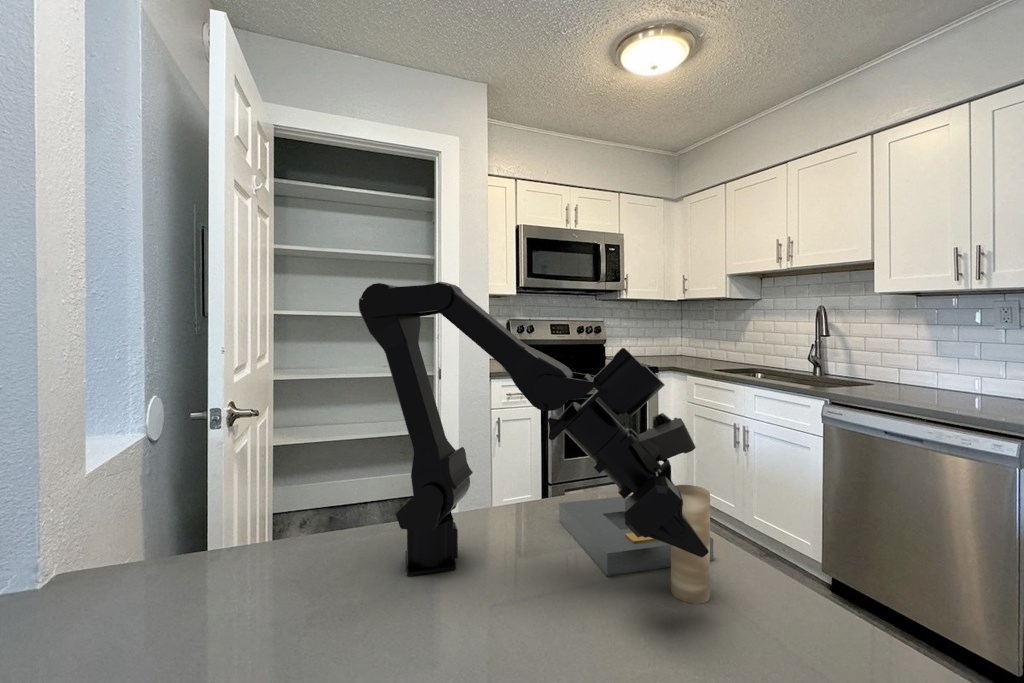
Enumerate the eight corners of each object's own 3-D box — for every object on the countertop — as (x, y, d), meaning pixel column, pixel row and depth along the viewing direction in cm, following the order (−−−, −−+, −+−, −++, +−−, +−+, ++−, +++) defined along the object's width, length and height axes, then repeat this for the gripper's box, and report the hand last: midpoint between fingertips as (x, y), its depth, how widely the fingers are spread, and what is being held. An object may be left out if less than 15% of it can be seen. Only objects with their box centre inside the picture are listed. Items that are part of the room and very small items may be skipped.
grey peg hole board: (607, 576, 59) (607, 551, 59) (559, 520, 77) (559, 501, 77) (713, 560, 63) (713, 537, 63) (644, 510, 81) (644, 493, 81)
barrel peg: (685, 606, 53) (685, 499, 53) (663, 585, 57) (663, 486, 57) (717, 600, 54) (718, 495, 54) (694, 580, 58) (694, 483, 58)
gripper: (658, 409, 47) (776, 525, 45) (648, 387, 65) (732, 469, 63) (581, 480, 49) (690, 595, 47) (592, 440, 67) (672, 521, 65)
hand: (699, 536), depth 55 cm, fingers open, 9 cm apart
